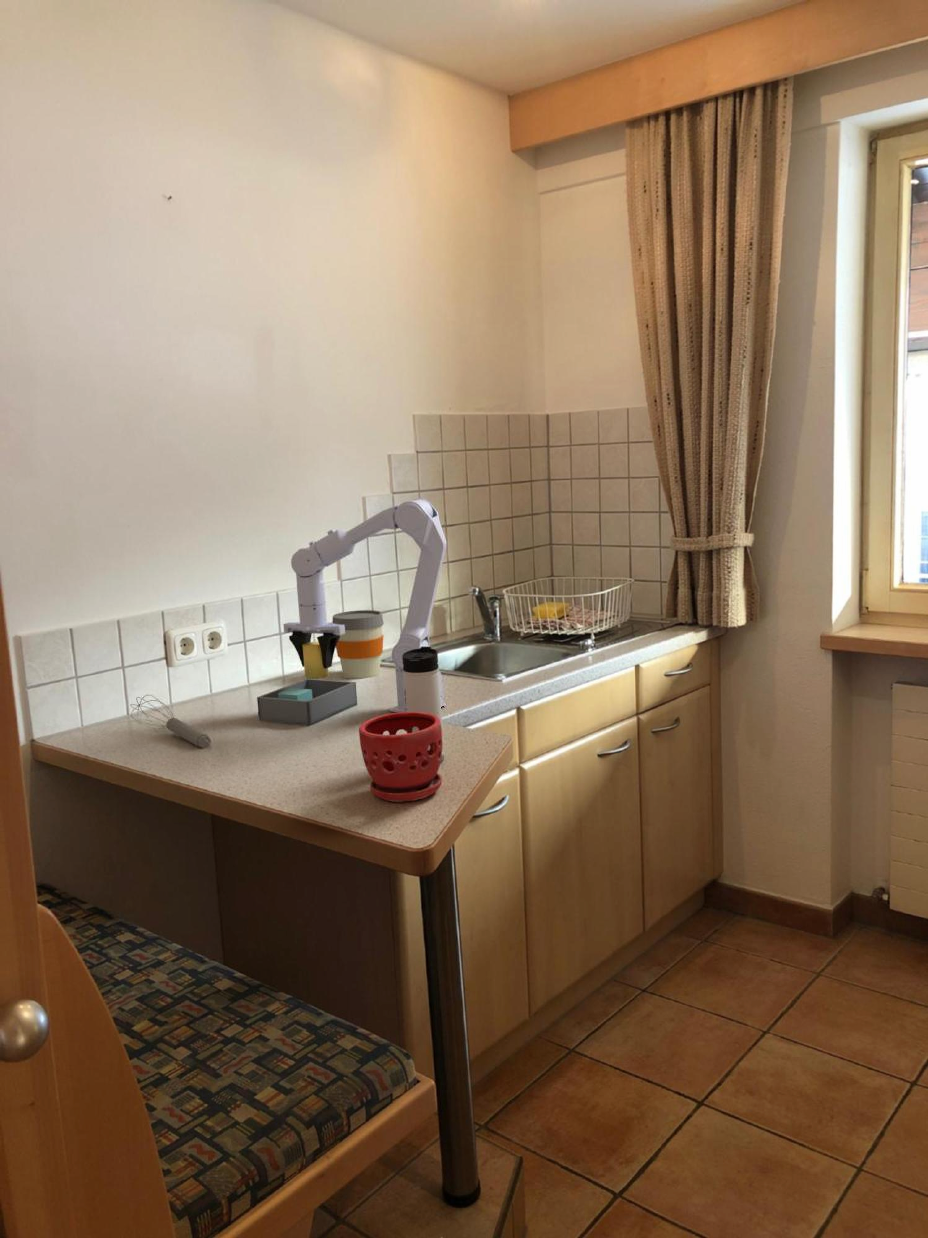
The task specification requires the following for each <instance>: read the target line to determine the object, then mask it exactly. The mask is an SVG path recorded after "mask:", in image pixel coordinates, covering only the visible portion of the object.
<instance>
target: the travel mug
mask: <svg viewBox="0 0 928 1238" xmlns="http://www.w3.org/2000/svg"><path fill="white" fill-rule="evenodd" d="M402 659H403V665H404V666H403V673H404V674H403V680H404V695H405V710H406V712H424V713H430V714H433V715H435V716H437V717H438V718H439V719H440V722H441V728H442V729H443V717H442V714H443V713H442V708H441V697H440V680H439V672H438V671H440V668H439V654H438V650H436V649H435V648H432V647H431V646H430V647H420V648H419V649H413V650H410V651H407V652H405V653H404V654H403V655H402ZM417 731H419V729H418V728H417V727H413V732H417ZM443 733H444V731H443V730H442V744H443V745H442V758H441V763H442V762H443V761H444V759H445V752H444V736H443V735H444V734H443ZM406 734H408V733H407V732H406ZM428 749H429V750H430V745H429V746H428Z"/></svg>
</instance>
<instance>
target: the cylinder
mask: <svg viewBox="0 0 928 1238" xmlns="http://www.w3.org/2000/svg"><path fill="white" fill-rule="evenodd" d="M303 658H304V667H303V668H304V677H305V678H304V679H323V678H327V677H329V668H324V667H323V662H322V653H321V648H320V645H319V642H318V641H311V642H309V643H305V644H303Z"/></svg>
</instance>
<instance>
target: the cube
mask: <svg viewBox="0 0 928 1238" xmlns="http://www.w3.org/2000/svg"><path fill="white" fill-rule="evenodd" d="M278 698H280V699H291V700H303V701H309V700H311V699H313V698H312V690H311V689H299V688H291V689H289V690H286V691H284V692H281V693H278Z"/></svg>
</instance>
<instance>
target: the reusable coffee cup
mask: <svg viewBox="0 0 928 1238" xmlns="http://www.w3.org/2000/svg"><path fill="white" fill-rule="evenodd" d="M331 623H333V624H340V625H345V634H343V635H340V638H339V640H338V642H337V645H336V648H335V650H336V653H337V657H338V658H339V661H340V665H341V670H342V675H343V677H344V678H346V679H355V680H356V679H367V678H373V677H376V676H378V675H380V673H381V671H380V670H381V655H382V654H383V651H384V650H383V649H384V635H383V625H384V617H383V612H382V611H380V610H369V609H368V610H367V609H366V610H365V609H363V610H361V609H360V610H348V611H344V612H343V611H342V612H338V613H336V614H333V615H332V622H331Z"/></svg>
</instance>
